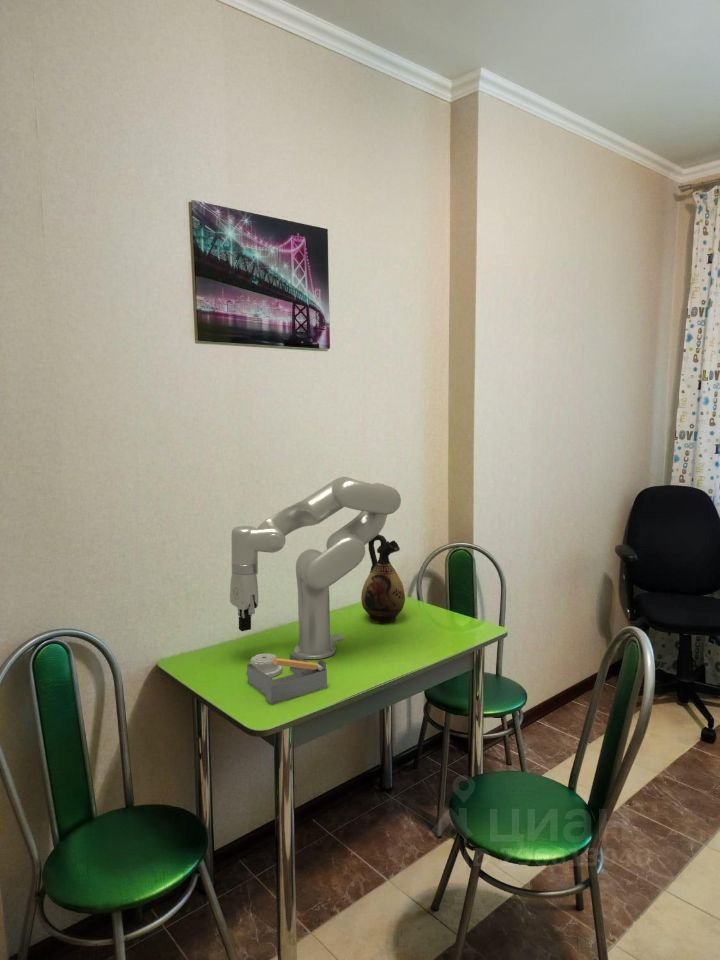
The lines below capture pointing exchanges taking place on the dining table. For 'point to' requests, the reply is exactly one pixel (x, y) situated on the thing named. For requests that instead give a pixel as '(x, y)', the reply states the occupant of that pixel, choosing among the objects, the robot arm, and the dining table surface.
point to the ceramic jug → (382, 585)
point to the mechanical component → (266, 664)
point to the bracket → (288, 681)
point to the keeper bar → (296, 664)
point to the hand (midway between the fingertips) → (244, 629)
